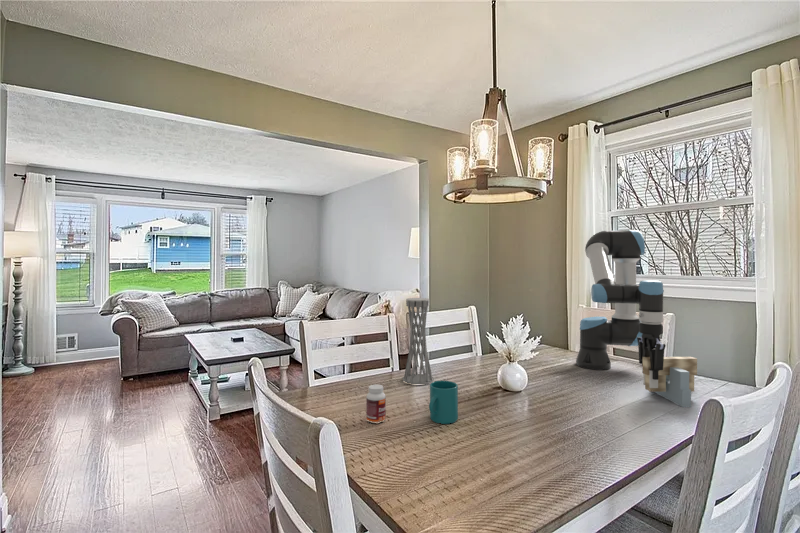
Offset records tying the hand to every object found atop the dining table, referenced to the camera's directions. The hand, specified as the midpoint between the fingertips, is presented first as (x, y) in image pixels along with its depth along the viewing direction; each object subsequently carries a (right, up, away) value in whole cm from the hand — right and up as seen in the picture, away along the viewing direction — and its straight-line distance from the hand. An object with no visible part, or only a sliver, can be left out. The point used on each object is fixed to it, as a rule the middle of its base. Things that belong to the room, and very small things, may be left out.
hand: (650, 386), depth 148 cm
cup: (-79, -6, -19) cm, 82 cm away
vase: (-85, -5, +23) cm, 88 cm away
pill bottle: (-100, -6, -19) cm, 102 cm away
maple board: (+7, -2, 0) cm, 7 cm away
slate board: (+7, -4, 0) cm, 8 cm away
